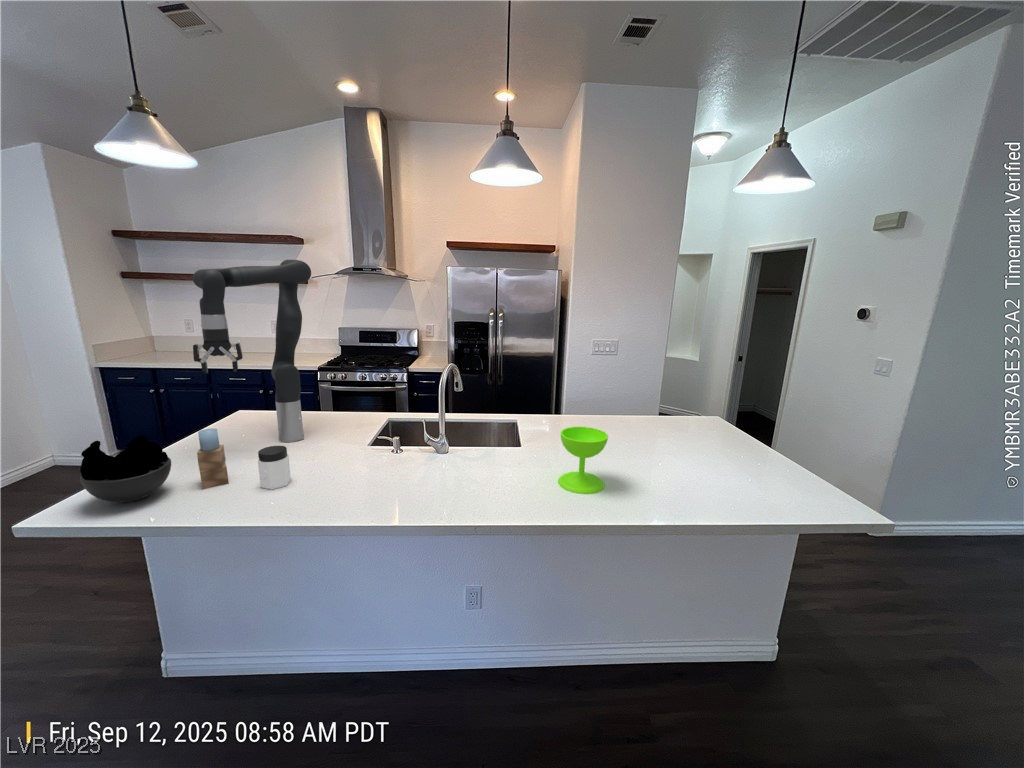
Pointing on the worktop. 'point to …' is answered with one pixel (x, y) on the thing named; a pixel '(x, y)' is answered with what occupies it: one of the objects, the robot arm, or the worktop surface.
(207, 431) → the blue grey cylinder
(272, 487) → the jar
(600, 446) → the wineglass
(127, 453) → the coal bowl
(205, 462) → the tower mid
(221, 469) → the tower base
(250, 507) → the worktop surface
